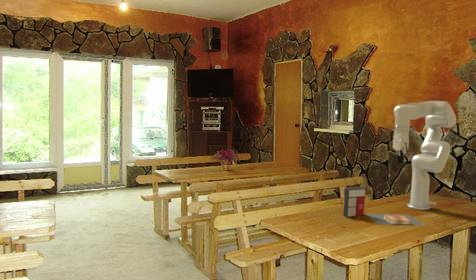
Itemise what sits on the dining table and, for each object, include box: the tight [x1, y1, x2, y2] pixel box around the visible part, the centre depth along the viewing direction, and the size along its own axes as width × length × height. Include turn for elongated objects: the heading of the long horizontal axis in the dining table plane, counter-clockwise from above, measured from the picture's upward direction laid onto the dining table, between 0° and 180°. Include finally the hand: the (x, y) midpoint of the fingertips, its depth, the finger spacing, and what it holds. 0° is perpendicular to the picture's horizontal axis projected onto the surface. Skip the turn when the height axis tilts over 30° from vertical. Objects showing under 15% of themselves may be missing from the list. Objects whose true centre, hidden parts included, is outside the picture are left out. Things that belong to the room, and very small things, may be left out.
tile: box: [384, 215, 411, 225], centre depth 211 cm, size 10×2×9 cm
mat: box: [364, 212, 426, 226], centre depth 216 cm, size 24×19×1 cm
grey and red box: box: [342, 186, 366, 218], centre depth 221 cm, size 11×4×15 cm, turn 112°
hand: (399, 162), depth 226 cm, fingers closed
